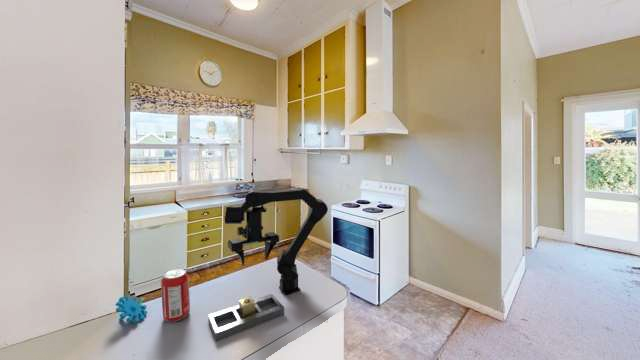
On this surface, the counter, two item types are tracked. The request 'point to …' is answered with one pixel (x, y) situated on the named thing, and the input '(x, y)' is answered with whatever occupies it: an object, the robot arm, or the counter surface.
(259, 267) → the counter surface
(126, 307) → the gear
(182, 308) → the soda can
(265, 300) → the tray
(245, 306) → the brass block
